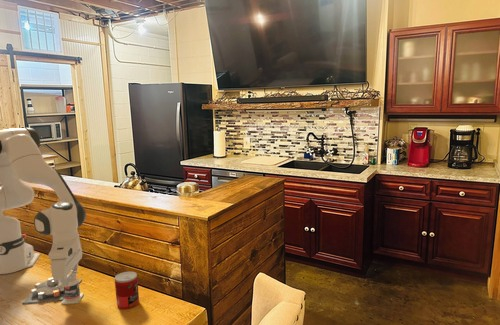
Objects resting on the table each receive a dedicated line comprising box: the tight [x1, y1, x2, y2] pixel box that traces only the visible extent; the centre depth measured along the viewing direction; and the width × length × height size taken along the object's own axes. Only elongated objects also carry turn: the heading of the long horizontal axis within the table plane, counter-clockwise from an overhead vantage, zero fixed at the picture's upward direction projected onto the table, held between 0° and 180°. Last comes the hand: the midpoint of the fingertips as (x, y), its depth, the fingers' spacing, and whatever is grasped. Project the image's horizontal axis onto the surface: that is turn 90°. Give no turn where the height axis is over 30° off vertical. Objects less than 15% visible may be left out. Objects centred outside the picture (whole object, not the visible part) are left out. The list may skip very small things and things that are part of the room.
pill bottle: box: [64, 272, 81, 301], centre depth 134 cm, size 5×5×9 cm
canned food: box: [114, 271, 140, 310], centre depth 129 cm, size 8×8×11 cm
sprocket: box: [31, 277, 64, 299], centre depth 140 cm, size 15×15×9 cm
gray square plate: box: [22, 279, 82, 305], centre depth 141 cm, size 16×17×1 cm
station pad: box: [60, 292, 84, 306], centre depth 134 cm, size 6×6×1 cm
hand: (70, 279), depth 134 cm, fingers open, 8 cm apart
